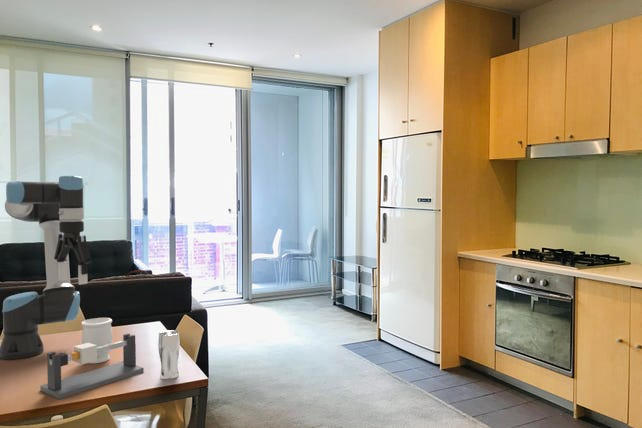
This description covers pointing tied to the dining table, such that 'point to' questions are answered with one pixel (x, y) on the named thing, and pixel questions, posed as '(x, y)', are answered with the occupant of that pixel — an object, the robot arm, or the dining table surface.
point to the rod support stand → (90, 373)
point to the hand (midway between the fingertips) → (72, 282)
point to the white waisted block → (169, 353)
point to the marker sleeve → (86, 353)
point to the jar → (98, 335)
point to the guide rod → (76, 355)
